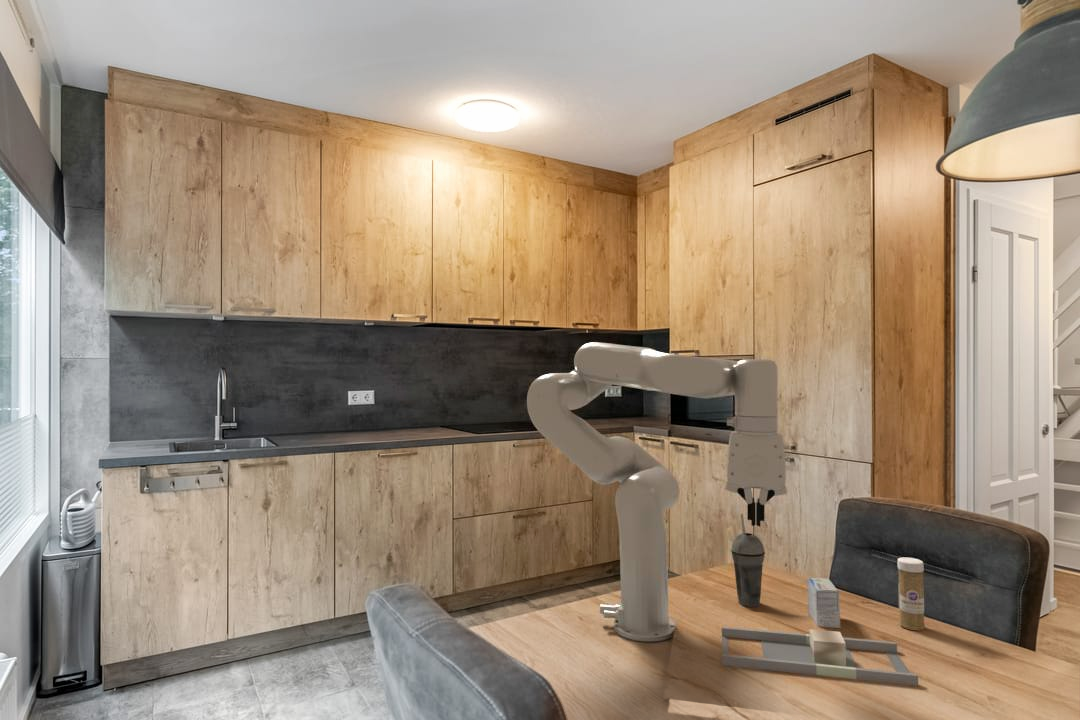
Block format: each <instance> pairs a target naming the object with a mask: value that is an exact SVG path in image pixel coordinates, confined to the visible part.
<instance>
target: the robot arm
mask: <svg viewBox="0 0 1080 720" xmlns="http://www.w3.org/2000/svg"><path fill="white" fill-rule="evenodd" d="M573 366H574V369H573V370H571V371H570V372H563V373H562V372H560V373H559V372H555V373H554V372H552V373H547V374H543V375H540V376H539V377H537V378H535V379H534V380H533V382H531V384H530V386H529V388H528V391H527V396H526V407H527V413H528V415H529V418H530V420H531V423H532V424H533V426H534V427H535V428H536V430H537V431H538V433H540V434H541V435H542V437H544V438H545V439H546V440H547V441H548V442H550V443H551V444H552V445H553V446H554V447H555V448H557V449H558V450H559V452H561V453H562V454H563V455H564V456H565V457H566V458H567V459H569V461H571V462H572V463H573V464H574V465H575V466H576V467H577V468H578V469H580V471H582V472H583V473H584V474H585V475H586V476H587V478H589V479H591V480H592V481H593V482H595V483H596V484H599V485H610V484H612V483H616V482H619V485H618V487H617V490H616V492H615V496H614V497H615V499H614V501H615V502H614V503H615V513H616V518H617V525H618V534H619V535H618V536H619V537H618V538H619V560H620V561H619V564H620V567H619V568H620V569H619V570H620V571H619V572H620V603H615V605H612V604H611V605H610V604H604V603H600V605H599V606H600V607H599V613H600V615H603V618H604V619H605V618H607V619H614V620H613V629H614V631H615V633H617V634H618V635H619V636H621V637H622V638H625V639H628V640H632V641H635V642H636V641H638V642H648V643H649V642H651V643H652V642H661V641H666V640H668V639H671V638H672V637H674V633H675V627H676V622H675V620H673V619H672V618H670V616H669V581H668V580H669V576H668V572H669V570H668V569H669V568H668V565H669V564H668V538H667V532H666V531H667V530H666V526H665V521H664V513H665V512H667V511H668V510H670V509H671V508H672V507H674V506H675V504H676V503H677V501H678V500H679V497H680V485H679V482H678V479H677V478H676V477H675V475H674V474H673V473H672V472H671V471H670V470H669V469H668V468H667V467H666V466H665V465H663V463H661V462H660V461H659V460H657V459H656V458H655V457H654V456H652V454H650V453H649V452H648V451H646V450H645V449H644V448H643V447H642V446H641V445H639V444H638V443H636V442H635V441H633V440H632V439H630V438H628V437H624V436H619V435H618V436H610V437H608V436H604V435H603V434H602V433H600V432H599V431H598V430H597V429H595V427H593V426H592V425H591V424H589V423H588V421H586V420H585V419H583V418H582V417H580V416H578V415H576V414H575V413H574V412H572V411H573V410H577V409H580V408H582V407H584V406H586V405H588V404H589V403H591V402H592V401H593V400H594V399H596V398H598V397H599V396H600V394H602V393H604V392H605V391H606V390H608V389H609V388H610V387H612V385H614V386H615V385H616V386H622V387H628V388H634V389H639V390H645V391H655V392H660V393H664V394H665V393H666V394H670V395H671V394H672V395H678V396H684V397H691V398H696V399H697V398H698V399H713V398H721V397H727V396H734V416H733V417H731V418H728V417H727V418H726V426H731V427H733V428H734V431H731V432H730V435H729V440H728V448H727V465H726V467H727V468H726V478H727V482H726V484H725V490H726V491H728V492H732V493H735V494H738V495H739V496H740V497H741V498H742V499H743V501H745V502H746V504H747V506H746V507H747V511H746V512H747V521H750V522H751V527H752V526H753V527H755V526H757V527H761V522H765V505H766V504H767V503H768V502H769V501H770V500H771V499H772V498H774V497H776V496H781V495H782V496H784V495H786V494H787V493H788V490H787V486H786V477H787V475H786V471H787V470H786V456H785V455H786V453H785V451H786V450H785V444H784V439H783V438H784V437H783V434H782V433H779V432H778V366H777V363H776V362H775V360H773V359H772V360H771V359H766V358H765V359H764V358H759V359H758V358H749V359H740V360H733V359H727V358H726V359H725V358H718V357H702V356H693V355H683V354H674V353H668V352H662V351H657V350H656V349H654V348H650V347H643V346H632V345H624V344H617V343H611V342H610V343H608V342H599V341H598V342H597V341H594V342H593V341H591V342H588V343H584V344H583V345H582V346H580V347H579V348H578V350H577V351H576V353H575V355H574V358H573ZM752 489H760V491H759V496H758V498H757V501H755V498H754V497H753V491H752Z"/></svg>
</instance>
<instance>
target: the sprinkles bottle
mask: <svg viewBox="0 0 1080 720" xmlns="http://www.w3.org/2000/svg"><path fill="white" fill-rule="evenodd" d="M924 564H925V563H924V561H923V560H921V559H919V558H914V557H904V556H903V557H899V558H897V563H896V565H897V566H896V567H897V571H898V586H897V587H898V609H899V621H898V623H899V626H900V627H902V628H904V629H906V630H911V631H923V630H925V628H926V626H925V594H924V572H925V571H924V570H925V567H924Z"/></svg>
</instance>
